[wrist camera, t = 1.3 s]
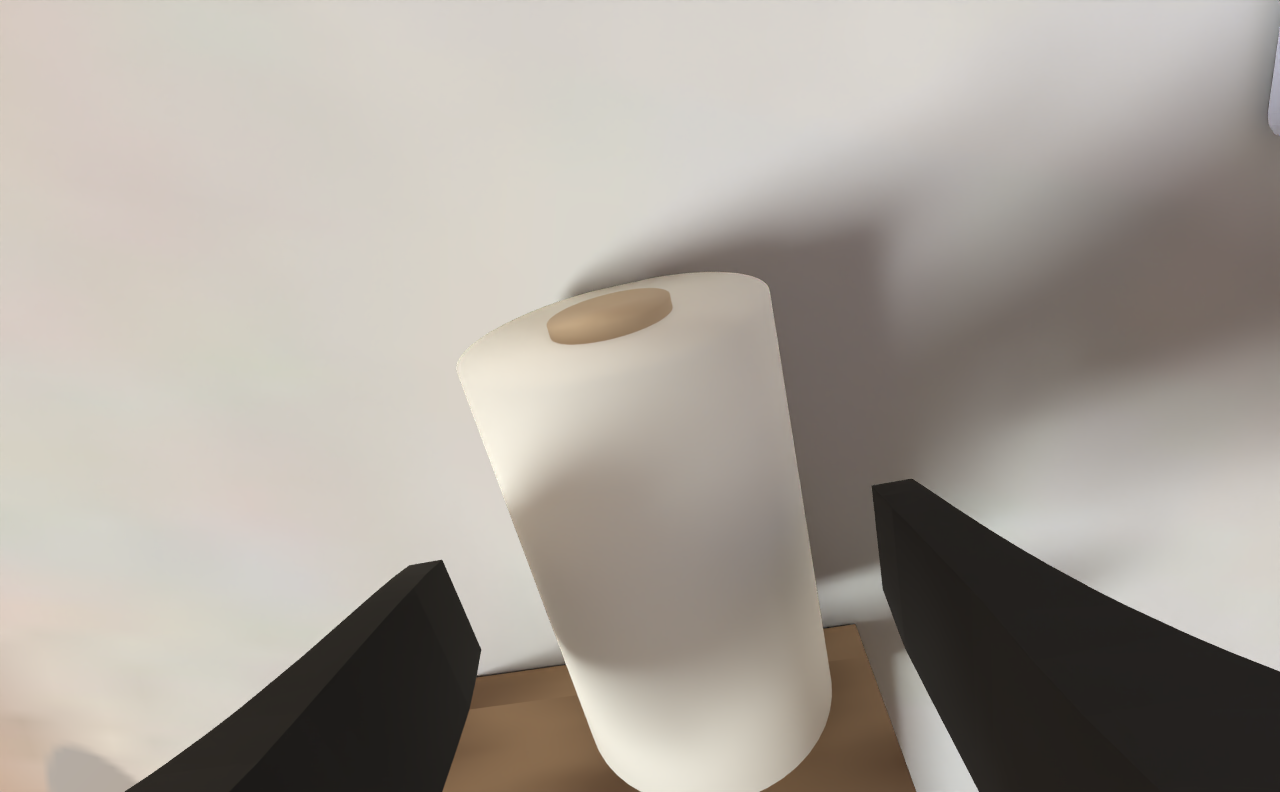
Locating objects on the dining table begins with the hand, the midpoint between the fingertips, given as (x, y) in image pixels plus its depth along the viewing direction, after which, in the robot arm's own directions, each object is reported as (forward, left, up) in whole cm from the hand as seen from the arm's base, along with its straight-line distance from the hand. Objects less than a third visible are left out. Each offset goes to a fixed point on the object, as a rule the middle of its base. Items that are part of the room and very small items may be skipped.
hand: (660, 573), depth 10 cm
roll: (0, 0, -4) cm, 4 cm away
